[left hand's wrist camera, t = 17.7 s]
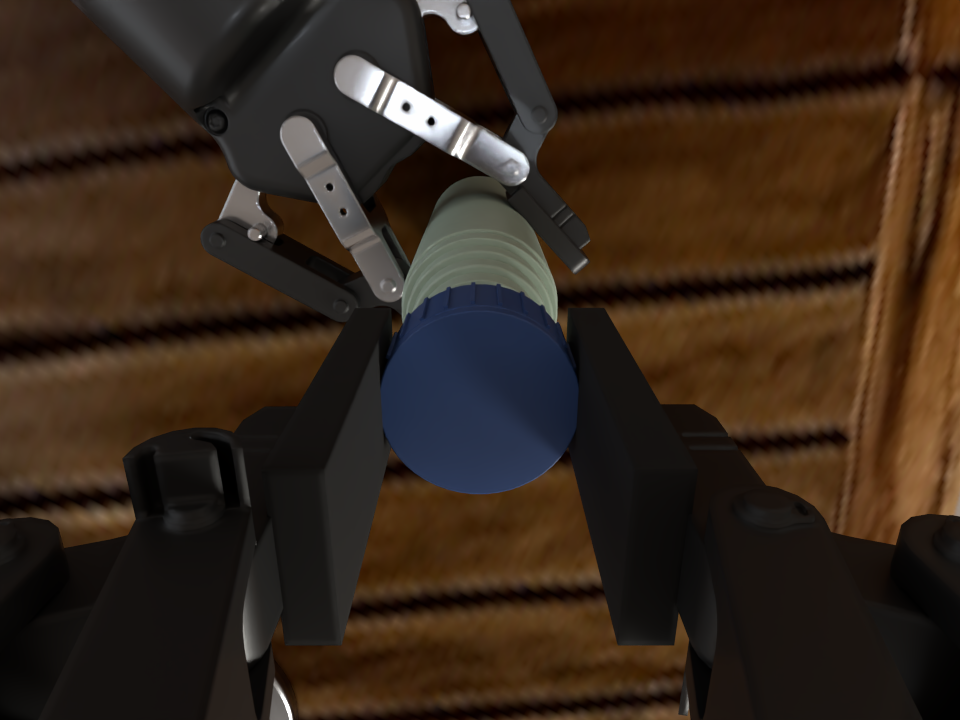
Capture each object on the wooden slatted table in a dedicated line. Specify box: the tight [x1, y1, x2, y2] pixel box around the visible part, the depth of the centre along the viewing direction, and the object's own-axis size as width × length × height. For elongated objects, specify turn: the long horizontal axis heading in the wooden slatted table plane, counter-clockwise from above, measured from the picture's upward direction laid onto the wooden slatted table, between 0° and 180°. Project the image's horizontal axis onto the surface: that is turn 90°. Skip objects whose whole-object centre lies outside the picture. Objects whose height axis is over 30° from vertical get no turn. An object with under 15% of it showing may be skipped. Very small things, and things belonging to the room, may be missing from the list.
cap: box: [380, 282, 579, 494], centre depth 14 cm, size 4×4×2 cm
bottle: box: [402, 176, 557, 323], centre depth 22 cm, size 4×4×18 cm
